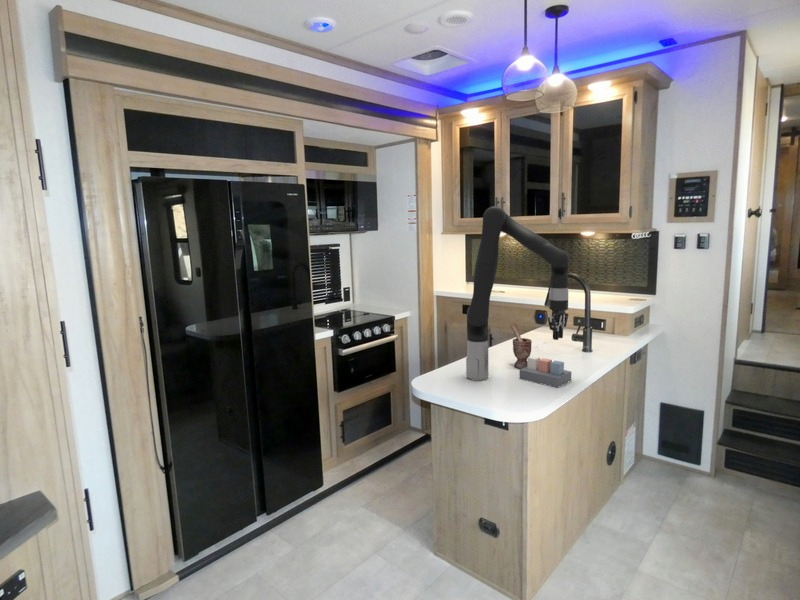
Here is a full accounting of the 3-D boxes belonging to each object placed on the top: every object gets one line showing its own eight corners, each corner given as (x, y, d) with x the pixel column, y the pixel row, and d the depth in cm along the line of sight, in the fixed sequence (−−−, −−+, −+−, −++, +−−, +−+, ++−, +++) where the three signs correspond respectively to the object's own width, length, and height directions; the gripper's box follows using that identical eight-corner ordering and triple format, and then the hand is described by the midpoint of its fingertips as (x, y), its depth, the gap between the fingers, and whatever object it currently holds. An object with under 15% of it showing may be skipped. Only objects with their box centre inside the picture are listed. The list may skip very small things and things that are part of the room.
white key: (535, 370, 208) (535, 359, 207) (527, 368, 211) (527, 357, 210) (540, 368, 211) (540, 357, 210) (532, 366, 214) (532, 355, 213)
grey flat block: (557, 387, 197) (557, 378, 196) (519, 378, 210) (519, 369, 209) (571, 380, 205) (571, 371, 205) (533, 372, 218) (533, 363, 217)
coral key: (547, 373, 204) (547, 361, 203) (538, 371, 207) (538, 360, 206) (551, 370, 207) (552, 359, 206) (543, 369, 210) (543, 358, 209)
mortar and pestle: (503, 365, 229) (503, 325, 226) (513, 361, 235) (513, 322, 232) (524, 370, 221) (525, 328, 218) (534, 366, 227) (535, 325, 223)
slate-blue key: (559, 375, 200) (559, 364, 199) (550, 373, 203) (550, 362, 202) (563, 373, 203) (564, 362, 202) (555, 371, 206) (555, 360, 205)
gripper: (559, 301, 190) (558, 343, 193) (575, 296, 200) (574, 336, 203) (541, 299, 196) (541, 340, 198) (558, 295, 205) (557, 334, 208)
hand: (557, 338), depth 201 cm, fingers open, 3 cm apart
